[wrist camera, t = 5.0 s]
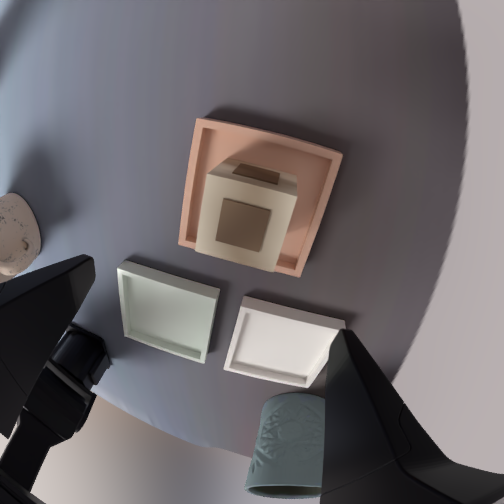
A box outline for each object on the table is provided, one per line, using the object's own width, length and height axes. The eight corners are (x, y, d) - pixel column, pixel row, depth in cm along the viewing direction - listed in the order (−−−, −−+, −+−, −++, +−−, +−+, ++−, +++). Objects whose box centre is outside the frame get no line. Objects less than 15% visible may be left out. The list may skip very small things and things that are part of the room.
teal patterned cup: (290, 379, 28) (281, 481, 18) (353, 404, 29) (357, 489, 19) (244, 410, 33) (227, 489, 22) (302, 430, 34) (296, 502, 24)
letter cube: (215, 219, 19) (194, 252, 15) (227, 156, 17) (206, 172, 13) (278, 236, 19) (273, 273, 15) (297, 173, 17) (297, 195, 13)
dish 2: (184, 236, 21) (178, 244, 20) (203, 117, 16) (196, 118, 15) (299, 267, 21) (299, 277, 20) (339, 151, 16) (343, 154, 15)
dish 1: (130, 327, 28) (124, 336, 26) (124, 259, 23) (117, 268, 22) (207, 353, 27) (204, 363, 26) (220, 289, 23) (216, 299, 22)
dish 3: (226, 359, 27) (223, 369, 26) (243, 295, 23) (240, 306, 22) (308, 377, 27) (308, 388, 26) (344, 320, 23) (346, 331, 22)
